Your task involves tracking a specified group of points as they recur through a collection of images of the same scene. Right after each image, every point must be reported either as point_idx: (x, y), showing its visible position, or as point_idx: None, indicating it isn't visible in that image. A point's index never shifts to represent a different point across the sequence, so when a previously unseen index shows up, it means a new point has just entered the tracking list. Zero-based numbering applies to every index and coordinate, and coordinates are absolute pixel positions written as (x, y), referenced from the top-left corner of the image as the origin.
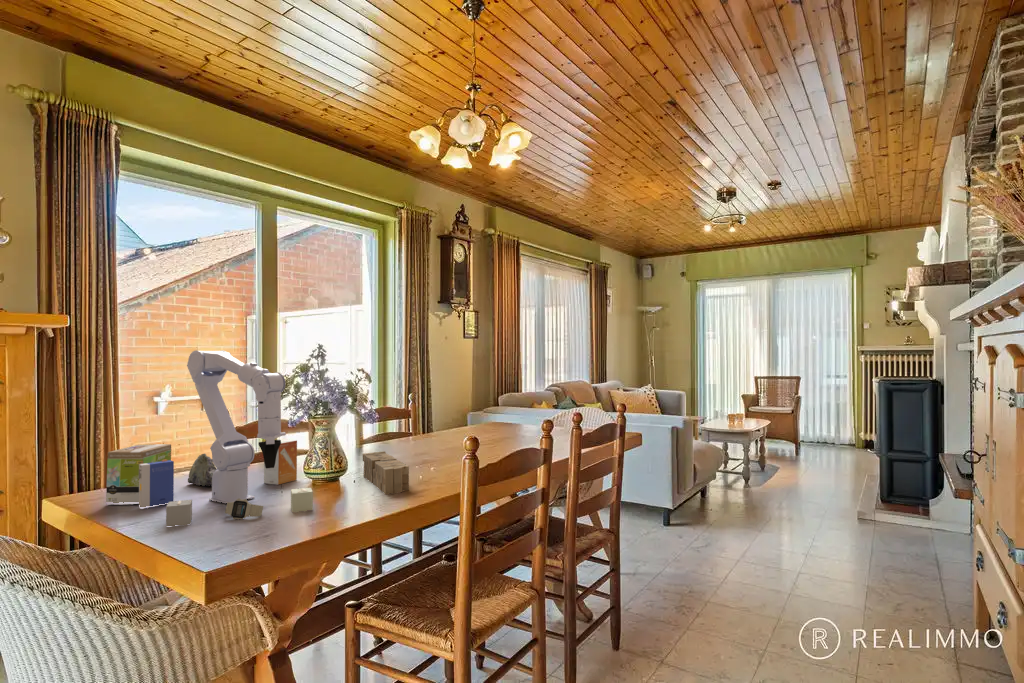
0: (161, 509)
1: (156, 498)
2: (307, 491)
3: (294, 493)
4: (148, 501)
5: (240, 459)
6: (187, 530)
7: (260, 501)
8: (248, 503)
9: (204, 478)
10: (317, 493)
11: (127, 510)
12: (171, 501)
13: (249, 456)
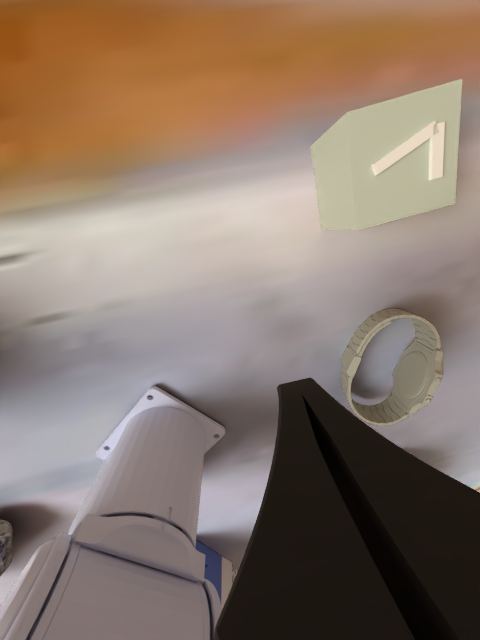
0: (238, 535)
1: (212, 575)
2: (444, 117)
3: (455, 192)
4: (223, 576)
5: (143, 593)
6: (448, 438)
7: (196, 356)
8: (442, 361)
9: (4, 570)
10: (74, 149)
11: (232, 576)
12: None
13: (79, 587)
